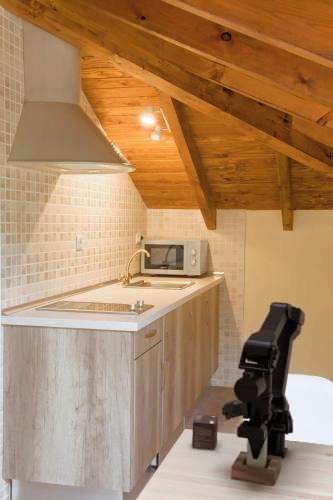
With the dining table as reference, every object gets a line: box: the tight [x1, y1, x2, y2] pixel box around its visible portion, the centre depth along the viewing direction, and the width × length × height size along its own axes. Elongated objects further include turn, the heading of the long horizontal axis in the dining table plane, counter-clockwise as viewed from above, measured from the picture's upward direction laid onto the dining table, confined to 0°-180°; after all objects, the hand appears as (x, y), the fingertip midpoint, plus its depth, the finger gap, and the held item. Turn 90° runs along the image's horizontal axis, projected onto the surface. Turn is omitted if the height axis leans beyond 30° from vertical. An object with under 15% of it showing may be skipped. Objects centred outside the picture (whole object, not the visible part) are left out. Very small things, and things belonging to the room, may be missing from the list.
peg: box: [246, 431, 268, 468], centre depth 148 cm, size 4×4×8 cm
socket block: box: [230, 450, 282, 487], centre depth 148 cm, size 10×10×3 cm
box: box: [191, 413, 219, 451], centre depth 166 cm, size 6×6×7 cm
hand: (257, 455), depth 148 cm, fingers closed on peg, 4 cm apart
